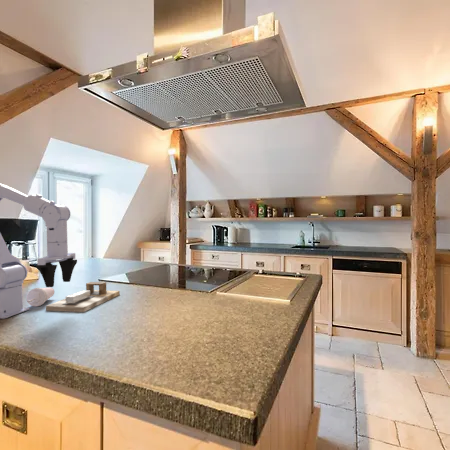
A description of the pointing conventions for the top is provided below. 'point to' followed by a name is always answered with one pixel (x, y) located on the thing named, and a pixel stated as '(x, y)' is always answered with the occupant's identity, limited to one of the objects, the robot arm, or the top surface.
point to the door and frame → (88, 303)
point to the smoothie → (39, 296)
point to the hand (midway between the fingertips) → (58, 284)
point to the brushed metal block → (78, 296)
